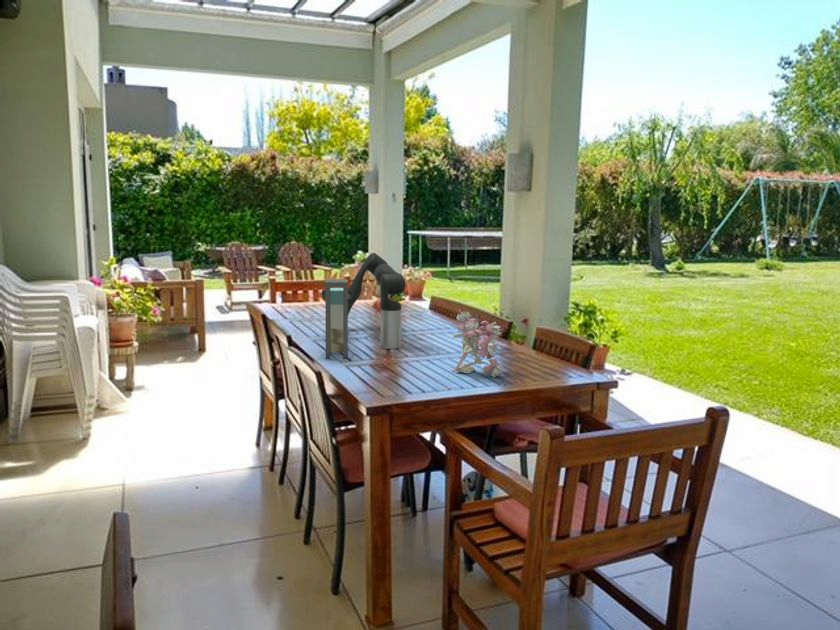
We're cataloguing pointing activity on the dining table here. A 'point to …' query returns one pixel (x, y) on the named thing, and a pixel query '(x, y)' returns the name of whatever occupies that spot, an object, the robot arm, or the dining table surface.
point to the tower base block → (336, 340)
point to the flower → (485, 344)
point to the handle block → (336, 296)
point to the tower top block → (336, 316)
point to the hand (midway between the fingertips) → (337, 288)
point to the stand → (329, 284)
